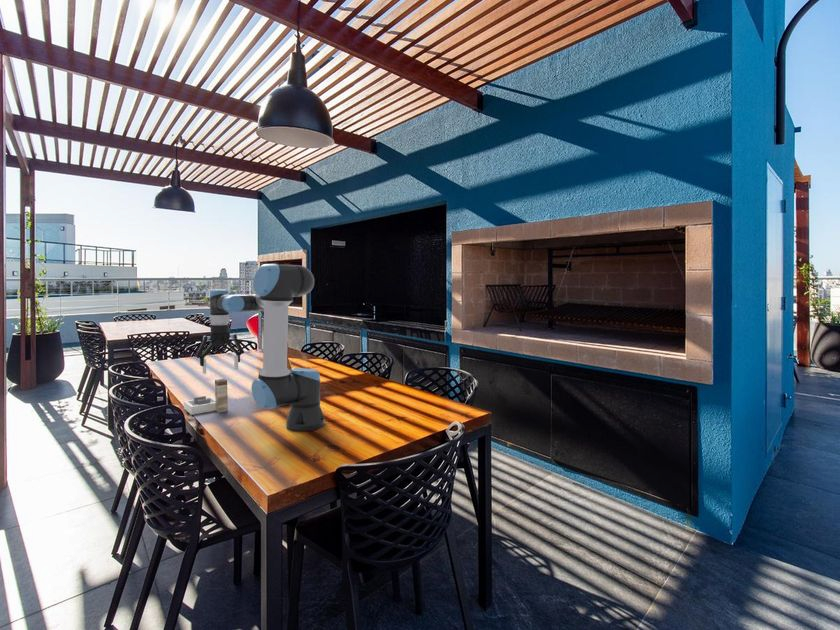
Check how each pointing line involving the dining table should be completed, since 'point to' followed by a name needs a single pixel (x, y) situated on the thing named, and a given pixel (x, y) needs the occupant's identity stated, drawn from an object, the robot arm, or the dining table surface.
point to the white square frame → (200, 405)
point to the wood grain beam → (221, 395)
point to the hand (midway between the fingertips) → (220, 371)
